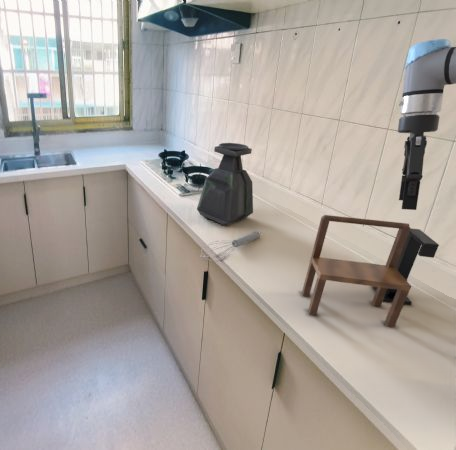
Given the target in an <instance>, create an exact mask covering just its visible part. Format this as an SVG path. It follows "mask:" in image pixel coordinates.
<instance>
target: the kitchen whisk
mask: <svg viewBox="0 0 456 450" xmlns="http://www.w3.org/2000/svg"><path fill="white" fill-rule="evenodd" d="M261 233H262V231H252V232H250V233H248V234H247V233H246V234H245V235H242V236H240V237H238V238H236V239H233V240H231V241H222V243H219V245H217V244H218V240H217V241H212V242H210V243H209V244H207V245H205V246H203V247H201V250H200V251H201V252H202V253H201V254H200V257H203V262H208V261H210V262H209V264H210V265H213V264H215V263H218V262H219V261H222V260H223V259H225V258H227V257H229V255H230V254H231V253H232V252H234V250H235V248H239V247H241V246H243V245H246V244H247V243H250V242H252V241H255V240H257V239H259V238H260V237H261ZM213 244H214V245H216V246H214V247H212V248H211V249H210V250H208V251H206V249H207V247H209V246H212V245H213ZM224 244H225V245H224ZM226 244H227V245H226ZM222 245H223V246H222ZM219 246H220V247H219ZM228 246H230V247H229V248H226V249H225V250H223V251H221V252H220V253H217V254H213V255H211V258H209V257H210V255H207V254H208V253H209V252H212V251H214V250H219V249H221V248H225V247H228ZM230 249H231V250H230ZM203 250H204V251H203ZM229 250H230V251H229ZM227 251H229V252H228V253H227V254H225V255H224V256H223V257H222V258H220V259H218V260H216V261H214V262H213V260H212V259H213V258H216V257H218V256H219V255H221V254H223V253H224V252H227Z"/></svg>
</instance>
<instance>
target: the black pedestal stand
mask: <svg viewBox="0 0 456 450" xmlns="http://www.w3.org/2000/svg"><path fill="white" fill-rule="evenodd" d="M410 228H411V227H410ZM439 246H440V244H439V243H438V242H436V241H435V240H434V239H432V238H431V237H430V236H429V235H428V234H426V233H425V232H424V231H422V230H421V229H419V228H411V229H410V231H409V234H408V236H407V239H406V242H405V244H404V247H403V249H402V252H401V255H400V257H399V260H398V263H397V265H396V269H397V270H398V271H399V273H400V274H401V275H402V276H403V277H404V278H405V279H406V281H407V282H408V278H409V276H410V274H411V271H412V269H413V267H414V264H415V261H416V258H417V256H419V257H423V258H431V259H433V258H435V255H436V253H437V252H438V248H439ZM372 288H373V290H374V291H375V292H376V290H377V287H374V286H372ZM396 292H397V289H389V288H388V289H387V291H386V294H385V296H384V299H383V302H385V303H392V302H393V300H394V297H395V295H396ZM412 302H413V301H411V299H410V298H409V297H408V296H407V298H406V300H405V303H404V305H407V306H411V305H412Z"/></svg>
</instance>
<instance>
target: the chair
mask: <svg viewBox="0 0 456 450" xmlns="http://www.w3.org/2000/svg"><path fill="white" fill-rule="evenodd" d="M330 222H334V223H344V224H354V225H363V226H372V227H379V228H380V227H381V228H390V229H391V228H392V229H398V230H397V233H396V234H395V235H396V236H395V238H394V241H393V243H392V247H391V249H390V252H389V255H388V257H387V260H386V263H385V264H377V263H370V262H361V261H354V260H345V259H337V258H331V257H330V258H329V257H321V254H322V250H323V246H324V243H325V239H326V235H327V233H328V228H329V226H330V225H329V224H330ZM410 229H411V227H410V223H405V222H399V221H398V222H396V221H387V220H377V219H367V218H358V217H349V216H340V215H330V214H329V215H328V214H323V215H322V216H321V218H320V221H319V225H318V229H317V233H316V236H315V240H314V244H313V248H312V252H311V256H310V260H309V264H308V267H307V271H306V275H305V277H304V283H303V287H302V291H301V294H302V296H303V297H310V294H311V291H312V287H313V284H314V279H315V276H316V275H317V276H316V281H315V284H314V288H313V292H312V294H311V295H312V296H311V299H310V302H309V306H308V309H307V312H308V314H309V316H310V315H311V316H315V317H316V316H317V313H318V310H319V307H320V304H321V300H322V296H323V294H324V293H323V292H324V289H325V285H326V282H327V281H330V282H338V283H346V284H353V285H361V286H366V287H367V286H369V287H373V286H374V287H377V290H376V291H375V292H374V295H373V298H372V300H371V303H372V305H373V306H374V307H379V308H381V307H382V304H383V302H384V301H383V299H384V296H385V294H386V291H387V289H388V288H389V289H397V292H396V295H395V297H394V300H393V302H391V305H390V308H389V310H388V312H387V315H386V317H385V320H384V324H385V325H386V327H388V328H395V327H396V324H397V322H398V320H399V317H400V315H401V313H402V309H403V308H404V306H405V304H404V303H405V300H406V298H407V297H408V296H409V293H410V291H411V288H412V285H411V284H410V283H409V282H408V280H407V281H406V279H405V278H404V277H403V276H402V275H401V274H400V273H399V271H398V270H397V269H396V265H397V263H398V260H399V257H400V255H401V252H402V249H403V247H404V244H405V242H406V239H407V236H408V234H409V231H410Z"/></svg>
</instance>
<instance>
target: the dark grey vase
mask: <svg viewBox="0 0 456 450" xmlns="http://www.w3.org/2000/svg"><path fill="white" fill-rule="evenodd" d="M213 149H214V150H213V152H215V153H218V154H221V155H223V156H222V157H221V160H220V162H219V165H218V167H216V168H214V169H213V170H212V171H211V172H210V173H209V174H208V175H207V177H206V178H205V180H204V184H203V186H202V190H201V194H200V196H199V201H198V203H197V207H196V210H197V211H198V213H199V215H200V216H202V217H204V218H207V219H209V220H212V221H214V222H216V223H218V224H221V225H224V226H228V225H229V226H230V225H231V224H235V223H237V222H239V221H240V222H241V221H242V220H244V219H246V218H247V217H249V216H250V215H252V214H253V213H254V194H253V180H252V178H251V177H250V174H249V173H248V171H247V170H245V169H244V168H243V162H242V161H243V160H242V156H247V155H251V154H252V151H253V148H250V147H249V146H248V145H246V144H243V143H237V142H236V143H235V142H222V143H219V144H218V146H214V148H213Z"/></svg>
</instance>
